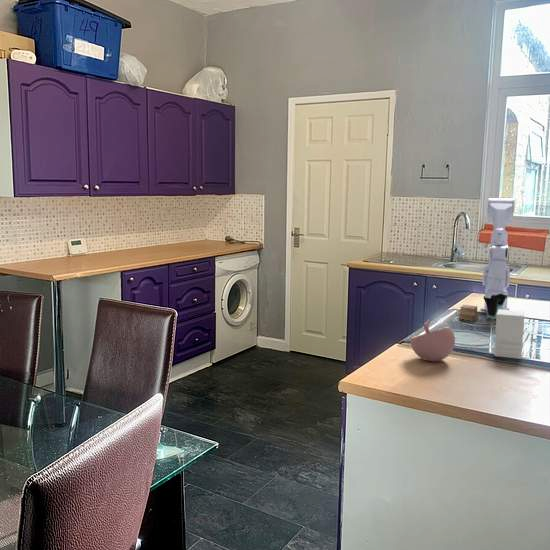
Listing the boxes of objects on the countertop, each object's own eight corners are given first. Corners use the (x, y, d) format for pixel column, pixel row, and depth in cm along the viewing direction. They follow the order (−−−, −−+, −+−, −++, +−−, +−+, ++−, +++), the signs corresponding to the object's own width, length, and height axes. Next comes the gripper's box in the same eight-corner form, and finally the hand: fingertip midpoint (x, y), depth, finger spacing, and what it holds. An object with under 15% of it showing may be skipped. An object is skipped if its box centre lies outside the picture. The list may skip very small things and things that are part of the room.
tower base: (464, 317, 211) (465, 311, 211) (477, 319, 208) (478, 313, 207) (458, 319, 207) (459, 313, 207) (471, 322, 204) (472, 315, 204)
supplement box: (521, 352, 166) (525, 310, 164) (521, 359, 159) (524, 316, 157) (495, 349, 169) (497, 308, 167) (493, 356, 162) (496, 313, 160)
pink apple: (423, 351, 166) (425, 313, 165) (461, 360, 158) (463, 320, 156) (401, 360, 158) (402, 320, 156) (439, 370, 150) (442, 328, 148)
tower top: (463, 311, 210) (463, 304, 210) (477, 312, 208) (477, 306, 208) (460, 313, 206) (460, 307, 206) (474, 315, 204) (474, 308, 203)
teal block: (490, 316, 212) (491, 303, 211) (501, 318, 209) (502, 305, 208) (486, 318, 209) (487, 305, 208) (497, 320, 206) (497, 306, 205)
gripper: (499, 282, 199) (496, 319, 201) (515, 277, 209) (512, 313, 211) (480, 279, 203) (477, 316, 206) (496, 275, 214) (494, 310, 216)
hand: (494, 314), depth 209 cm, fingers closed on teal block, 4 cm apart
